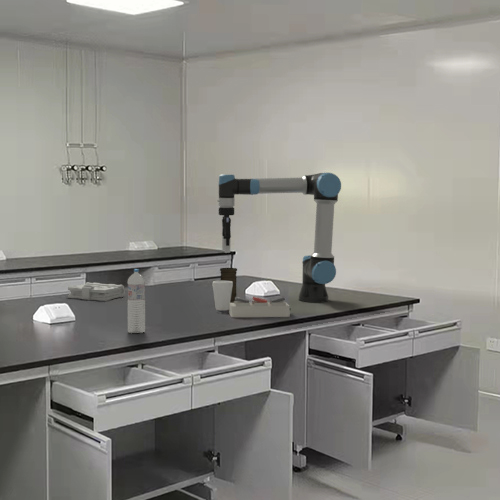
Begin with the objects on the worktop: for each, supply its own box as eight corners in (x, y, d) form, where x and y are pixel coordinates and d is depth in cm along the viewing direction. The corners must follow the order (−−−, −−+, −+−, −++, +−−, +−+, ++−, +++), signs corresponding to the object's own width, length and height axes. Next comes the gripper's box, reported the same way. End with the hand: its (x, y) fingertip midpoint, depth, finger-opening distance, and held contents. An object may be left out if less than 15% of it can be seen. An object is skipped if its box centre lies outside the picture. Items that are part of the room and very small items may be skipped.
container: (235, 307, 365) (235, 269, 363) (217, 306, 367) (217, 269, 365) (239, 304, 374) (239, 267, 372) (221, 303, 375) (221, 267, 374)
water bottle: (128, 330, 303) (128, 268, 301) (145, 330, 304) (145, 268, 302) (127, 334, 297) (126, 270, 294) (144, 334, 297) (144, 270, 295)
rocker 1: (247, 302, 342) (248, 299, 342) (248, 303, 338) (249, 301, 338) (234, 299, 341) (235, 296, 341) (235, 300, 337) (236, 297, 337)
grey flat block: (82, 293, 407) (82, 278, 406) (126, 296, 395) (126, 282, 394) (59, 298, 389) (58, 283, 388) (104, 302, 377) (104, 287, 377)
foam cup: (235, 308, 360) (235, 281, 359) (228, 311, 352) (228, 283, 351) (216, 307, 364) (216, 280, 362) (209, 310, 355) (209, 282, 354)
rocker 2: (265, 302, 343) (266, 299, 343) (266, 303, 339) (267, 300, 339) (252, 298, 342) (253, 296, 342) (253, 300, 338) (254, 297, 338)
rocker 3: (283, 298, 344) (282, 296, 343) (285, 300, 340) (284, 297, 340) (270, 302, 343) (270, 299, 343) (272, 303, 339) (271, 301, 339)
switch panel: (288, 312, 350) (288, 299, 349) (292, 316, 340) (292, 302, 339) (229, 313, 346) (229, 299, 346) (231, 317, 336) (231, 303, 335)
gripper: (216, 206, 375) (216, 249, 377) (220, 207, 350) (220, 253, 352) (232, 206, 376) (231, 249, 377) (236, 207, 351) (236, 253, 353)
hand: (226, 251), depth 365 cm, fingers open, 13 cm apart
